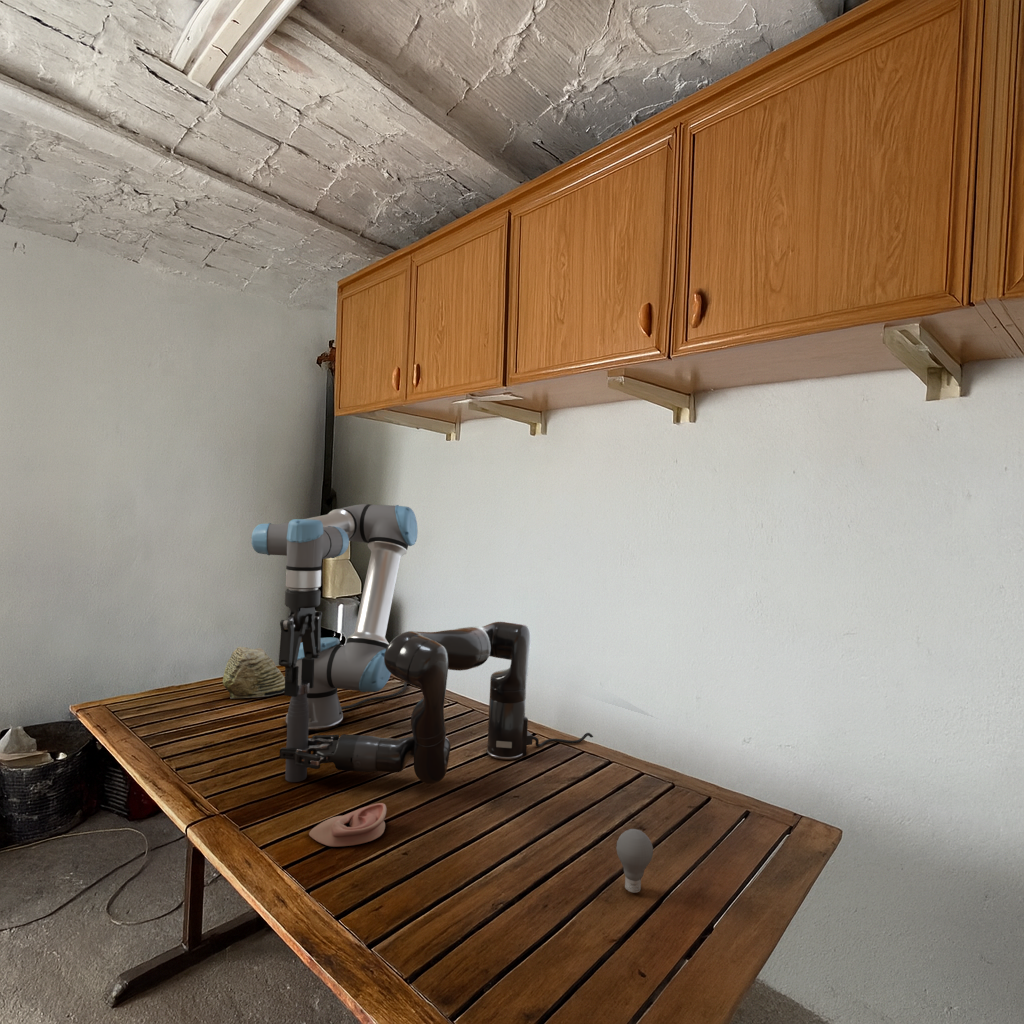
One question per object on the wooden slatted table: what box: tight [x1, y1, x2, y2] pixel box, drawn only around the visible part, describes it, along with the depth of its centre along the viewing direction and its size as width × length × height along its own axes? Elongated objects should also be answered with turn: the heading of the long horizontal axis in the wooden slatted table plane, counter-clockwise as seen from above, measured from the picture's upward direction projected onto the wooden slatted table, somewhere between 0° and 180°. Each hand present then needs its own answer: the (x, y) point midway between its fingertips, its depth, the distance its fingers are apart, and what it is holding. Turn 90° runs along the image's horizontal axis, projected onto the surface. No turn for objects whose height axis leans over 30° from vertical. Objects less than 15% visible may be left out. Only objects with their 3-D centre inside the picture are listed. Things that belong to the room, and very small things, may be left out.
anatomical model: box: [308, 802, 387, 848], centre depth 120 cm, size 13×4×12 cm
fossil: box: [222, 646, 285, 699], centre depth 198 cm, size 9×18×15 cm, turn 132°
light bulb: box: [615, 828, 654, 894], centre depth 106 cm, size 6×6×10 cm
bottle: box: [284, 694, 309, 783], centre depth 142 cm, size 5×5×21 cm
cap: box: [298, 680, 310, 695], centre depth 142 cm, size 4×4×2 cm
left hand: (299, 691), depth 142 cm, fingers open, 6 cm apart
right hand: (285, 748), depth 142 cm, fingers closed on bottle, 4 cm apart
